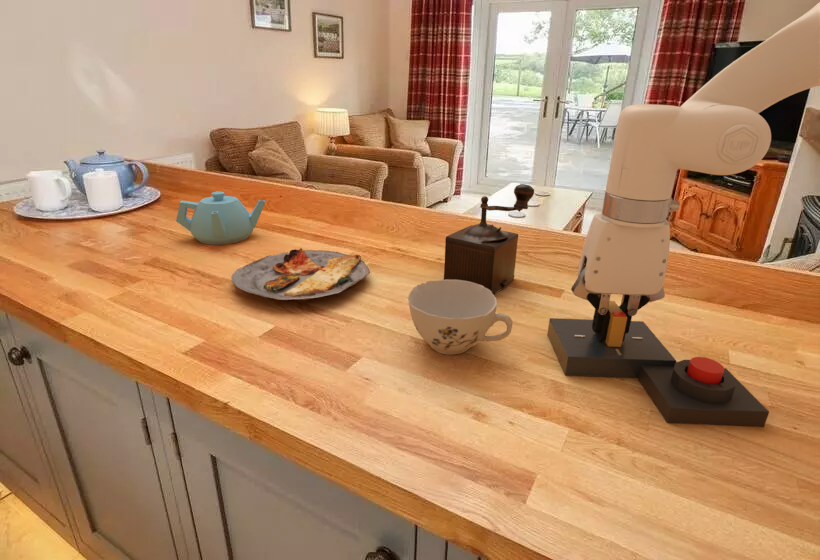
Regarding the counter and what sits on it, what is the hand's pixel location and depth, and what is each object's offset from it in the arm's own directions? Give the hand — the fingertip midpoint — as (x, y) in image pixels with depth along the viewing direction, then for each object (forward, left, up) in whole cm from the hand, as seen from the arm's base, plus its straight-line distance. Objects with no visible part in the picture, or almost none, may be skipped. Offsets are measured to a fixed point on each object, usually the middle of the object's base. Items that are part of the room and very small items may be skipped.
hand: (608, 335), depth 69 cm
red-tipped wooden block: (0, 0, 0) cm, 0 cm away
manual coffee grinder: (+14, -28, -4) cm, 32 cm away
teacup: (+21, -1, -4) cm, 21 cm away
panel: (0, 0, -3) cm, 3 cm away
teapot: (+74, -48, -4) cm, 88 cm away
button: (-8, +10, 0) cm, 13 cm away
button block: (-8, +10, -3) cm, 13 cm away
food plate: (+49, -23, -4) cm, 54 cm away
